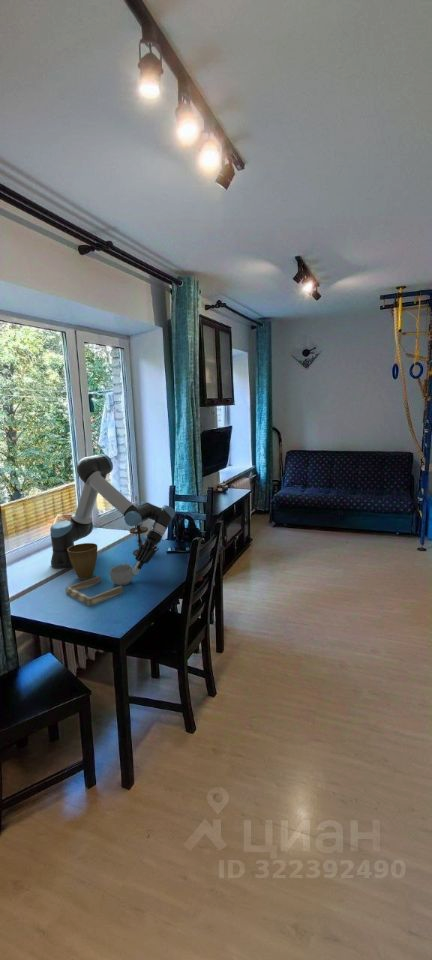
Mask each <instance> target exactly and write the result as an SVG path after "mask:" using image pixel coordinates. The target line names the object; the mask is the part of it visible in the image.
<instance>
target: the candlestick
mask: <svg viewBox="0 0 432 960" xmlns="http://www.w3.org/2000/svg"><path fill="white" fill-rule="evenodd" d="M138 505H139V502H138V499H137V495H135V503H134V506H136V507H137V508H138ZM128 531H129V533H130V534H132V535H137V537H138V539H137V540H136V542H137V543H138V544H137V546H138V549H135V550H133V551H132V554H133V556H136V555H137V552H138V550H139V547H140V542H143V539H142V538H141V535H142V534H145V533H147V532H149V528H148V527H146V526H142V524H141V523H140V524H138V525H135V526H134V527H131V528H130V529H129V530H128Z"/></svg>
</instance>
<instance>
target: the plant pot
mask: <svg viewBox="0 0 432 960" xmlns="http://www.w3.org/2000/svg"><path fill="white" fill-rule="evenodd" d="M67 550H68V554H69V558H70V561H71V564H72V566H71V567H72V569H73V571H74V572H75V574H76V576H77V578H78V579H80V580H88V579H91V578H93V576H94V574H95V571H96V570H95V569H96V566H97V559H98V543H97V544H96V543H93V542H90V543H89V542H87V543H85V542H84V543H83V542H82V543H78V544H74V546H71V547H69V548H68V549H67Z"/></svg>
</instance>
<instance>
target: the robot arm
mask: <svg viewBox="0 0 432 960" xmlns="http://www.w3.org/2000/svg"><path fill="white" fill-rule="evenodd" d="M113 469H114V463H113V461H112V459H111V457H110V456H109V455H107V454H105V453H99V454H98V453H97V454H95V455H90V456H85V457H82V458H81V459H80V460H79V461H78V463H77V465H76V471H77V475H78V477H79V478H80V479H81V481H82V482H83V483H84V485H83V487H82V488H83V489H82V490H81V494H80V498H79V501H78V504H77V507H76V509H75V510H76V511H75V512H74V513H72V515H71V516H70V521H69V520H62V521H58V522H55V523H54V524H52V525H51V526H50V534H49V535H50V539H51V548H52V556H51V559H50V566H51V567H52V568H54V569H66V568H71V567H73V566H72V564H71V561H70V558H69V554H68V550H67V549H68V548H69V547H71V546H74V545H75V542H77V541H79V540H81V539H84V538H87V537H88V536H89V535H90V534H92V532H93V530H94V524H93V519H92V517H91V516H92V513H93V510H94V507H95V503H96V501H97V498H98V494H99V495H100V496H101V497H103V498H104V499H105V500H106V501H107V502H108V503H109V504H110V505H111V506H113V507H114V509H116V510H117V511H118V512H119V513H120V514H121V515H122V516H123V517H124V518H123V519H124V522H125V524H126V525H127V526H129V527H136V526H135V525H138V524H141V523H143V522H145V521H147V520H149V519H150V520H153V521H154V522H153V524H152V525H151V527H150V530H148V533H147V534H146V539H145V540H144V541H142V542H140V547H139V546H138V549H139V550H138V552H137V555H135V560H136V562H135V564H134V567H132V572H133V576H138V574H139V572H140V570H141V569H142V568H143V566H144V564H148V563H149V562H150V560H151V559H152V558H153V556H154V555H155V554H156V553H157V552H158V551H159V549H160V548H159V547H158V544H160V542H161V541H162V539H163V536H164V534H165V533H166V531H167V530H168V527H169V526H170V524H171V523H172V520H173V519H174V516H175V514H176V511H175V509H174V508H173V507H171V506H169V505H166V504H164V505H163V506H162V507H159V506H157V505H154V504H152V503H150V502H147V501H141V502H140V503H138V508H137V507H136V506H135V504H133V503H132V502H131V501H130V500H129V499H128V498H127V497H126V496H125V495H123V494H122V493H121V491H119V490H118V489H117V488H116V487H115V486H114V485H112V484H111V483H110V482H109V481H108V480H107V479H106V478H107V475H108V474H110V473H112V471H113Z"/></svg>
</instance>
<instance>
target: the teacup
mask: <svg viewBox="0 0 432 960" xmlns="http://www.w3.org/2000/svg"><path fill="white" fill-rule="evenodd" d="M132 570H133V566H132V565H131V564H126V562H124V563H123V564H119V565H115V566H113V567H111V568H110V570H109V572H110V577H111V582H112V583H113V584H115V585H116V586H117V587H119V586H122V587H123V586H126V585H128V584H130V583H131V581H133V579H134V574H133V572H132Z"/></svg>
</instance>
